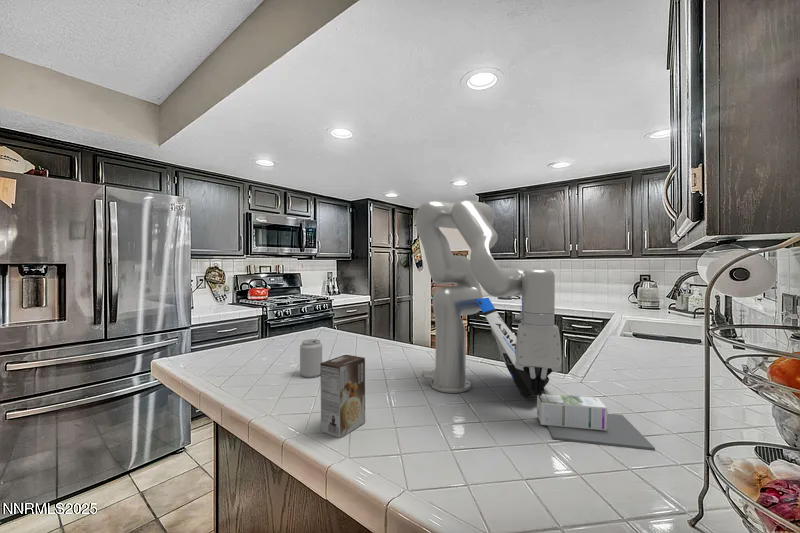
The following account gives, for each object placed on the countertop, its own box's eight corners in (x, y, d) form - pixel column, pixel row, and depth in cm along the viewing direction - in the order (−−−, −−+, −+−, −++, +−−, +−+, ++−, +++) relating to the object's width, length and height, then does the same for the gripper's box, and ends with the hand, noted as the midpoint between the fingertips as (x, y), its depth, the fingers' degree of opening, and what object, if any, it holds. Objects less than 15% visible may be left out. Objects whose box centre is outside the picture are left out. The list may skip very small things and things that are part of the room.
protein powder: (549, 370, 111) (500, 291, 119) (549, 390, 89) (489, 291, 97) (523, 382, 114) (476, 304, 122) (517, 404, 92) (461, 307, 100)
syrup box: (540, 425, 81) (607, 432, 78) (541, 401, 81) (608, 407, 78) (536, 414, 87) (598, 420, 84) (536, 391, 86) (599, 397, 83)
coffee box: (345, 416, 86) (346, 353, 86) (366, 422, 83) (366, 357, 83) (319, 431, 79) (319, 362, 78) (340, 439, 75) (340, 366, 75)
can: (326, 373, 119) (326, 339, 119) (310, 380, 113) (310, 344, 113) (311, 370, 123) (311, 337, 123) (295, 375, 117) (295, 341, 117)
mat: (552, 439, 76) (552, 437, 76) (539, 409, 91) (539, 407, 91) (654, 450, 71) (655, 447, 71) (622, 416, 87) (622, 414, 87)
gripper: (507, 320, 82) (506, 396, 82) (575, 323, 78) (574, 402, 79) (504, 315, 89) (504, 385, 89) (566, 318, 86) (565, 390, 86)
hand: (537, 393), depth 84 cm, fingers closed
